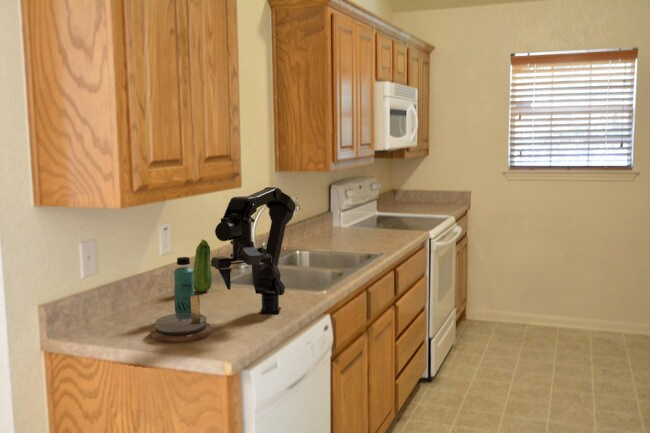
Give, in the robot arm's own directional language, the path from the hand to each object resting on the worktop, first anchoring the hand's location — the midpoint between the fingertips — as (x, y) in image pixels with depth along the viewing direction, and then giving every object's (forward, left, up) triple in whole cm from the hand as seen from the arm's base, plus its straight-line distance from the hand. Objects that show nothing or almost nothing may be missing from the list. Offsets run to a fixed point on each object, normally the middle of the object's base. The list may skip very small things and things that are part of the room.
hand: (242, 287), depth 209 cm
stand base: (+9, -17, -12) cm, 23 cm away
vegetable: (-43, -22, -12) cm, 50 cm away
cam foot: (+9, -17, -10) cm, 22 cm away
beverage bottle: (-8, -20, -12) cm, 25 cm away
